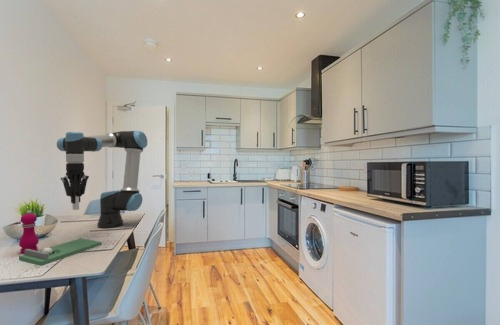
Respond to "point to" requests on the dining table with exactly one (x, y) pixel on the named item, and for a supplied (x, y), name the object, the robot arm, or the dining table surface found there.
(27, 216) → the pepper mill
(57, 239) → the dining table surface
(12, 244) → the dining table surface
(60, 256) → the putting mat
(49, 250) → the ball
